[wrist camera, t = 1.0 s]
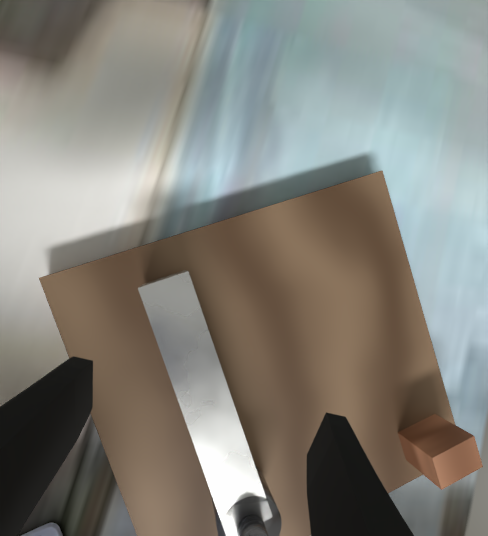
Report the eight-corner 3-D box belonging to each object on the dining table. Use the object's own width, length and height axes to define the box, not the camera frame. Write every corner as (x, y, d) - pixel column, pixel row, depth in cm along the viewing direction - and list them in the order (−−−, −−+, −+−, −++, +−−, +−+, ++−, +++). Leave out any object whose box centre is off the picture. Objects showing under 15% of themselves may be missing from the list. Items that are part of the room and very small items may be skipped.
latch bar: (272, 500, 20) (298, 562, 16) (221, 526, 19) (235, 596, 15) (192, 267, 19) (198, 268, 15) (135, 286, 18) (125, 293, 14)
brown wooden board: (166, 587, 21) (165, 675, 16) (49, 276, 19) (12, 280, 15) (445, 441, 25) (505, 479, 20) (368, 176, 23) (415, 156, 19)
